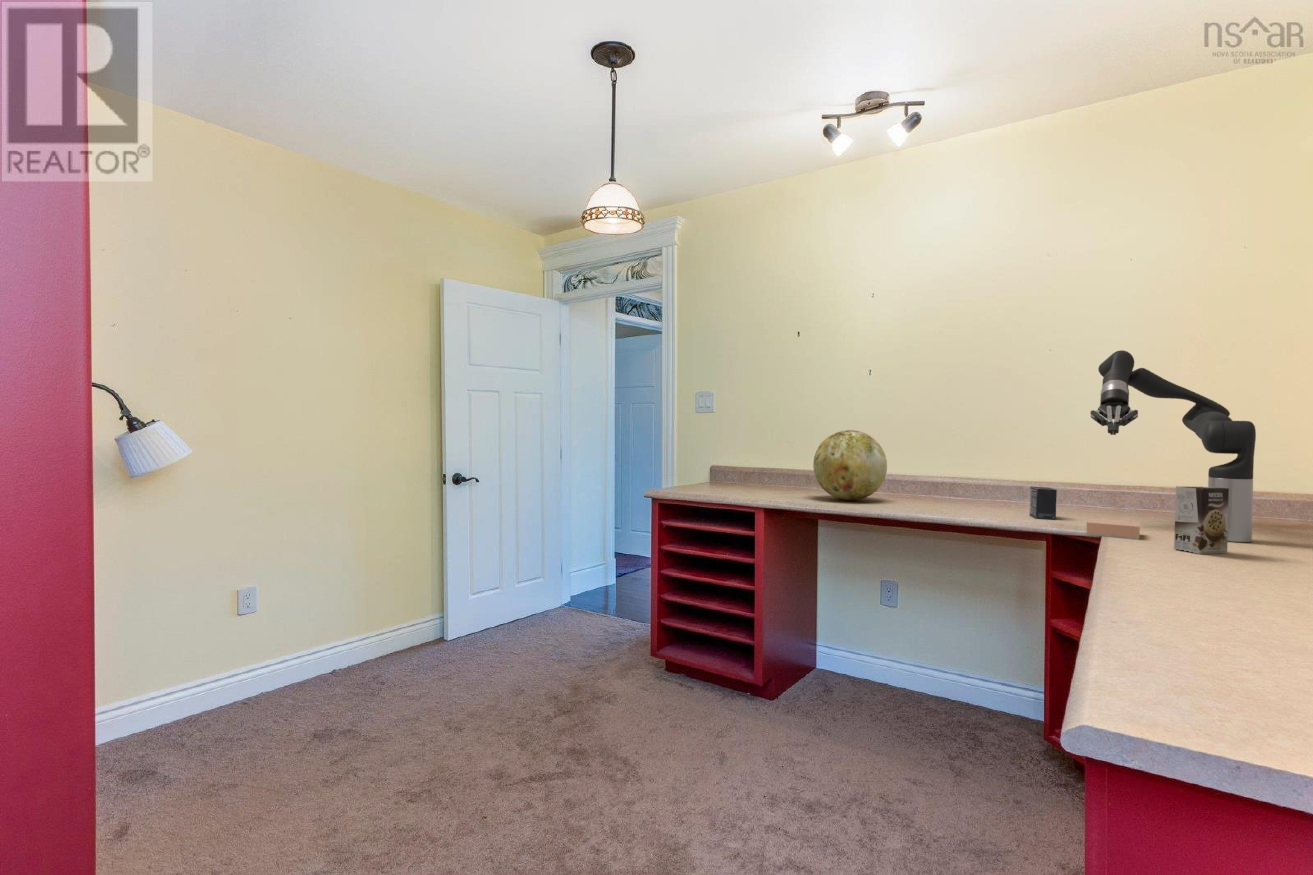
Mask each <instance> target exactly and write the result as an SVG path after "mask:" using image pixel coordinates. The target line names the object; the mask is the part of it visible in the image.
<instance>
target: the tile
mask: <svg viewBox="0 0 1313 875" xmlns="http://www.w3.org/2000/svg"><path fill="white" fill-rule="evenodd" d="M1140 526H1141V523H1140V521H1131V520H1130V521H1128V520H1127V521H1126V520H1118V519H1117V520H1115V519H1104V518H1102V519H1101V518H1088V520H1087V522H1086V535H1087V536H1094V537H1095V536H1096V537H1104V538H1105V537H1106V538H1117V539H1126V540H1137V539H1139V540H1140V532H1141V527H1140Z"/></svg>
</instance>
